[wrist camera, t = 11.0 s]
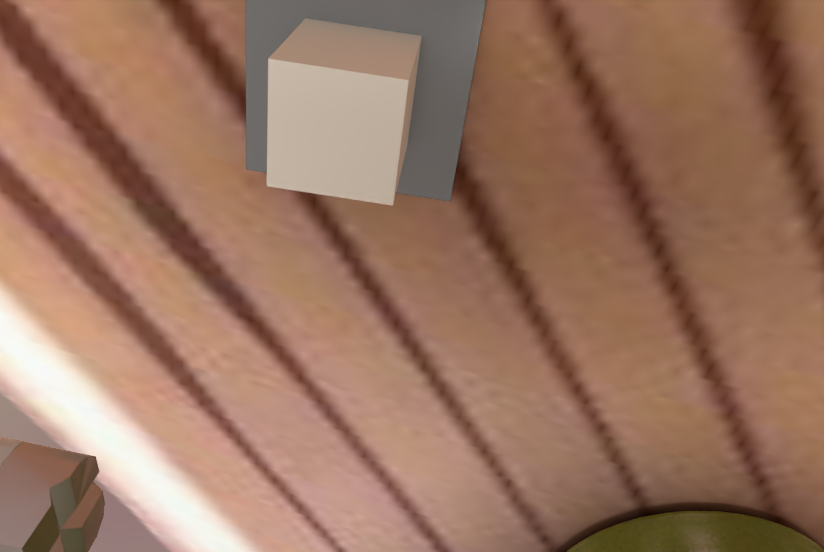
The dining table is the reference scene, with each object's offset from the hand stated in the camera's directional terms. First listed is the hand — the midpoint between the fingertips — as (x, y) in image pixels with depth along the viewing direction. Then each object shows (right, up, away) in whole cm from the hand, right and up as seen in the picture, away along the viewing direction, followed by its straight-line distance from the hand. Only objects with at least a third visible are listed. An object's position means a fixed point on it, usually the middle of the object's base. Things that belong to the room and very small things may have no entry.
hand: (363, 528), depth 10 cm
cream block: (-1, +11, +17) cm, 21 cm away
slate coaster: (-1, +12, +18) cm, 22 cm away
